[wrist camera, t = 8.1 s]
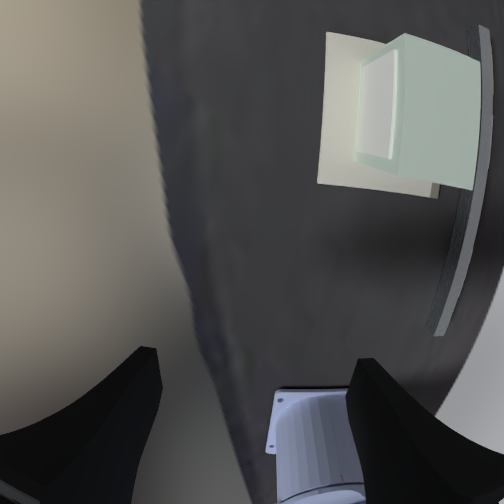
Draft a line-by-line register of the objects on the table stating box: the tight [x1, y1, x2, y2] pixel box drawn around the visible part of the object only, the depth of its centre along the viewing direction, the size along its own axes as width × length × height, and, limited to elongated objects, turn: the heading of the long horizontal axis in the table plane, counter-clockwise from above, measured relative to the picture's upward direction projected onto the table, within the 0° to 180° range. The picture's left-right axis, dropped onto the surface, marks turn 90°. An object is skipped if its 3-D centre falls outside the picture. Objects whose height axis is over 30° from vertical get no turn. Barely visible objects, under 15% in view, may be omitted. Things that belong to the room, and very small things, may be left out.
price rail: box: [426, 24, 493, 336], centre depth 16 cm, size 22×1×2 cm, turn 177°
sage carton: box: [354, 33, 481, 190], centre depth 13 cm, size 4×6×6 cm
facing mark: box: [317, 32, 440, 199], centre depth 16 cm, size 9×8×1 cm
